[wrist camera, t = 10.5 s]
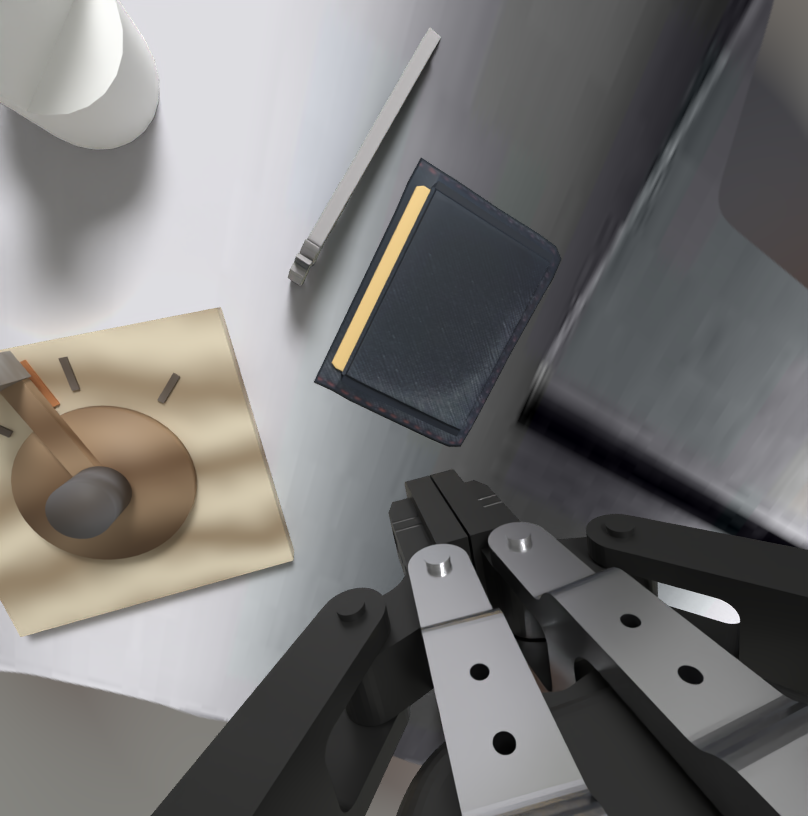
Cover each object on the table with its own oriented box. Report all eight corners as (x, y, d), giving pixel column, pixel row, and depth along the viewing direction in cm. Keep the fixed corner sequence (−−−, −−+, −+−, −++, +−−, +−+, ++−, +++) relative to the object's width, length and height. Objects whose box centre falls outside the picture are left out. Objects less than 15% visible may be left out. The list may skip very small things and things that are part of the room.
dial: (227, 503, 36) (208, 550, 29) (93, 578, 35) (41, 645, 28) (86, 313, 30) (22, 318, 24) (-76, 398, 30) (-188, 428, 23)
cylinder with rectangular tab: (36, -47, 27) (-168, -301, 15) (182, 54, 29) (100, -99, 18) (-20, 92, 28) (-251, -49, 16) (126, 177, 30) (14, 107, 19)
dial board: (294, 550, 40) (293, 561, 38) (32, 623, 37) (19, 639, 35) (220, 307, 34) (216, 307, 32) (-102, 370, 30) (-125, 374, 29)
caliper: (302, 287, 35) (300, 285, 29) (289, 279, 34) (284, 275, 28) (439, 40, 32) (469, -18, 26) (427, 29, 32) (454, -33, 26)
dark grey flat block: (461, 457, 39) (306, 381, 35) (454, 450, 41) (306, 377, 37) (578, 255, 37) (427, 146, 33) (566, 257, 39) (421, 154, 34)
